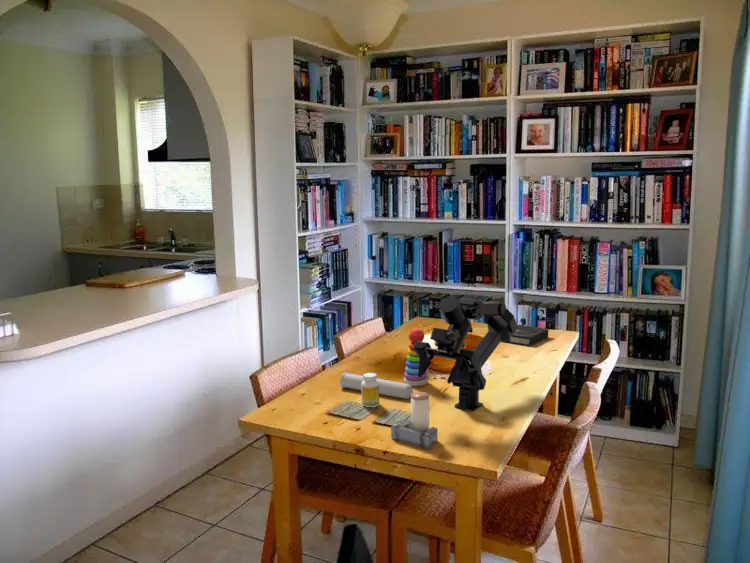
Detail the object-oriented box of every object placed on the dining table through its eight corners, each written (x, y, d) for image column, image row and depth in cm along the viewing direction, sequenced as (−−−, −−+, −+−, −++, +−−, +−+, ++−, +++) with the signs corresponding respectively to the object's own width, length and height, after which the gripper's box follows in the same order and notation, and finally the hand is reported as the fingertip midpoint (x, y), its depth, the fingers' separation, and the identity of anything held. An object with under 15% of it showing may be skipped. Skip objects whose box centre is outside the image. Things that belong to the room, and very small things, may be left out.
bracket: (404, 431, 179) (404, 417, 179) (441, 441, 172) (441, 427, 171) (391, 438, 175) (391, 424, 174) (428, 449, 167) (428, 435, 167)
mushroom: (418, 432, 178) (417, 390, 176) (433, 436, 175) (432, 394, 173) (408, 438, 174) (407, 395, 172) (422, 443, 171) (422, 399, 169)
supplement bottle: (360, 402, 201) (359, 373, 199) (376, 400, 202) (376, 371, 201) (364, 409, 196) (363, 378, 194) (381, 407, 197) (380, 376, 196)
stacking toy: (415, 389, 212) (414, 333, 209) (398, 383, 218) (397, 328, 215) (432, 383, 217) (432, 328, 214) (416, 377, 223) (415, 324, 220)
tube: (416, 384, 206) (349, 372, 218) (409, 383, 201) (341, 371, 213) (414, 401, 205) (347, 388, 218) (407, 401, 200) (338, 388, 213)
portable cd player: (492, 341, 267) (492, 331, 266) (512, 332, 280) (512, 323, 279) (528, 348, 257) (529, 338, 256) (548, 338, 269) (548, 329, 269)
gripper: (418, 313, 186) (394, 356, 178) (476, 321, 175) (453, 368, 167) (431, 337, 193) (408, 380, 185) (488, 346, 182) (467, 392, 174)
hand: (433, 379), depth 178 cm, fingers open, 9 cm apart
